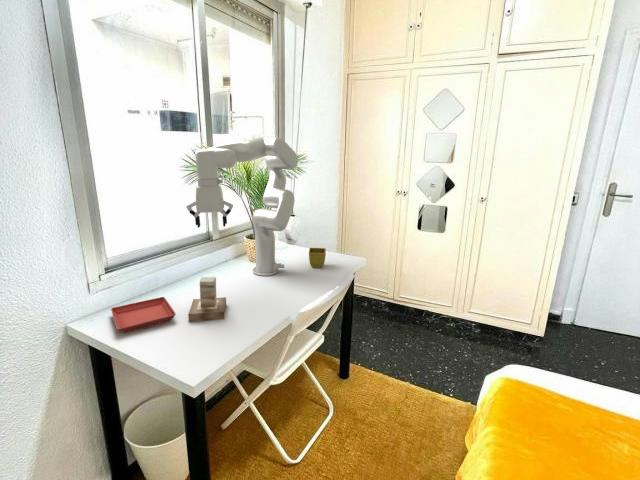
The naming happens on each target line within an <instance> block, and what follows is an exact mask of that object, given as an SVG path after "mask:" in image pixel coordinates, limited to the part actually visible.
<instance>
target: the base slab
mask: <svg viewBox="0 0 640 480" xmlns="http://www.w3.org/2000/svg"><path fill="white" fill-rule="evenodd" d="M216 300H217V302H216V304H215V306H214V307H201V301H200V298H193V300H192V303H191V305H190V309H189V311H188V315H187V316H188V317H187V318H188V322H189V323H190V322H203V321H217V320H218V321H219V320H225V316H226V309H227V308H226V307H227V297H216Z"/></svg>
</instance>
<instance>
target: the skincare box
mask: <svg viewBox="0 0 640 480" xmlns="http://www.w3.org/2000/svg"><path fill="white" fill-rule="evenodd" d="M199 294H200V295H199V296H200V297H199V299H200V301H201V307H214V306H215V304H216V302H217V300H216V298H217V277H215V276H209V277H208V276H207V277H205V276H204V277H203V276H202V277H200V280H199Z"/></svg>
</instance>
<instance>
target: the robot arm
mask: <svg viewBox="0 0 640 480" xmlns="http://www.w3.org/2000/svg"><path fill="white" fill-rule="evenodd" d="M194 156H195V166H196V176H197V186H196V189H195V190H196V191H195V201H193V202H192V203H190V204H188V205H186V209H187V211H188V213H189V214H191V215H192V216H193V217H194V222H195V226H197V228H201V218H200V214H201V213H203V214H205V213H220V214H221V215H222V225H223V226H222V227H226V225H227V224H228V218H227V217H228V215H230V214H231V211H232V209H233V208H234V204H232V203H231V202H229V201H226V200H224V195H223V189H222V186H221V185H220V184H223V179H219V172H218V171H219V170H218V169H232V168H233V167H234V166H235V165H236V164H237V163H246V162H251V161H254V160H258V159H261V158H264V162H265V165H266V168H267V171H268V175H269V177H268V182H267V185H266V186H265V189H264V192H263V196H262V199H261V200H262V204H263V205H264V206H265V207H267V208H258V209H256V210H254V212H253V213H252V226H253V229H254V244H255V245H254V249H255V251H254V252H255V255H254V256H255V267H253V269H252V273H253V274H254V275H257V276H263V277H268V276H269V277H270V276H273V275H276V274H277V273H278V272H279V269H285V263H284V264H283V263H281V262H279V263H277V262H276V249H275V248H276V235H275V232H282V231H284V230H285V229H286V228H287V226H288V223H289V222H290V218H291V215H292V212H293V209H294V205H295V195H294V193H293V192H292V191H291V190H289V189H286V185H287V177H286V175H285V173H284V170H290V171H291V170H294V169H296V168H297V167H298V164H299V156H298V155H297V153H296V151H294V149H293V148H292V147H291V146H290V145H289V144H288V143H287V142H286V141H285V140H284V139H282V137H278V136H259V137H256V138H252V139H247V140H241V141H236V142H231V143H224V144H220V145H215V146H212V147H208V148H206V149H205V148H203V149H202V148H201V149H200V148H199V149H197V150H196V151H195V155H194ZM225 206H227V207H228V209H227V210H225ZM193 207H195V208H196V209H195V210H196V211H195V210H193ZM271 208H272V209H271ZM275 209H276V210H275ZM274 231H275V232H274Z"/></svg>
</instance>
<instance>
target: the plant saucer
mask: <svg viewBox="0 0 640 480" xmlns="http://www.w3.org/2000/svg"><path fill="white" fill-rule="evenodd" d="M110 311H111V315H112V317H113V321H114V323H115V326H116V327H115V328H116V329H117V331H119V332H121V333H124V334H125V333H126V334H127V333H130V332H134V331H139V330H142V329H145V328H149V327H154V326H157V325H161V324H165V323H168V322H171V320H172V319H173V318H174V317H175V316H176V315H177V313H176V312H175V311H174V309H173V308H172V306H171V304H170V303H169V301H168V300H167V299H166V297H165V296H160V297H155V298H152V299H147V300H141V301H137V302H132V303H129V304H124V305H119V306H114V307H111V308H110Z"/></svg>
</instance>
